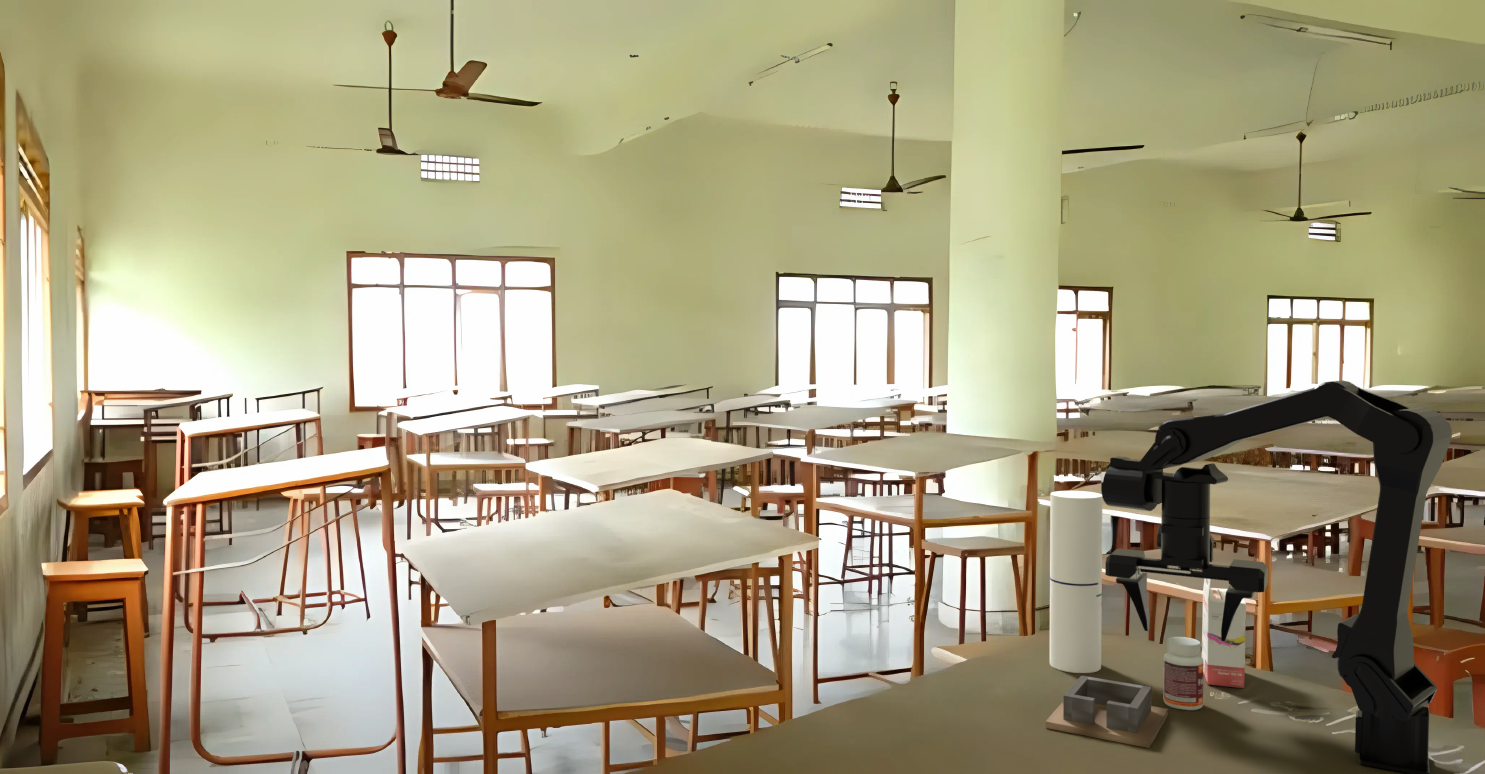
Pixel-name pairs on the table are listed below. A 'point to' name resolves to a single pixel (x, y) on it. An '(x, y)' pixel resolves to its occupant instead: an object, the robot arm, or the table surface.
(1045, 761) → the table surface
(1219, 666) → the white cardboard box
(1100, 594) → the cylindrical container
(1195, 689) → the pill bottle
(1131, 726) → the bottle holder
